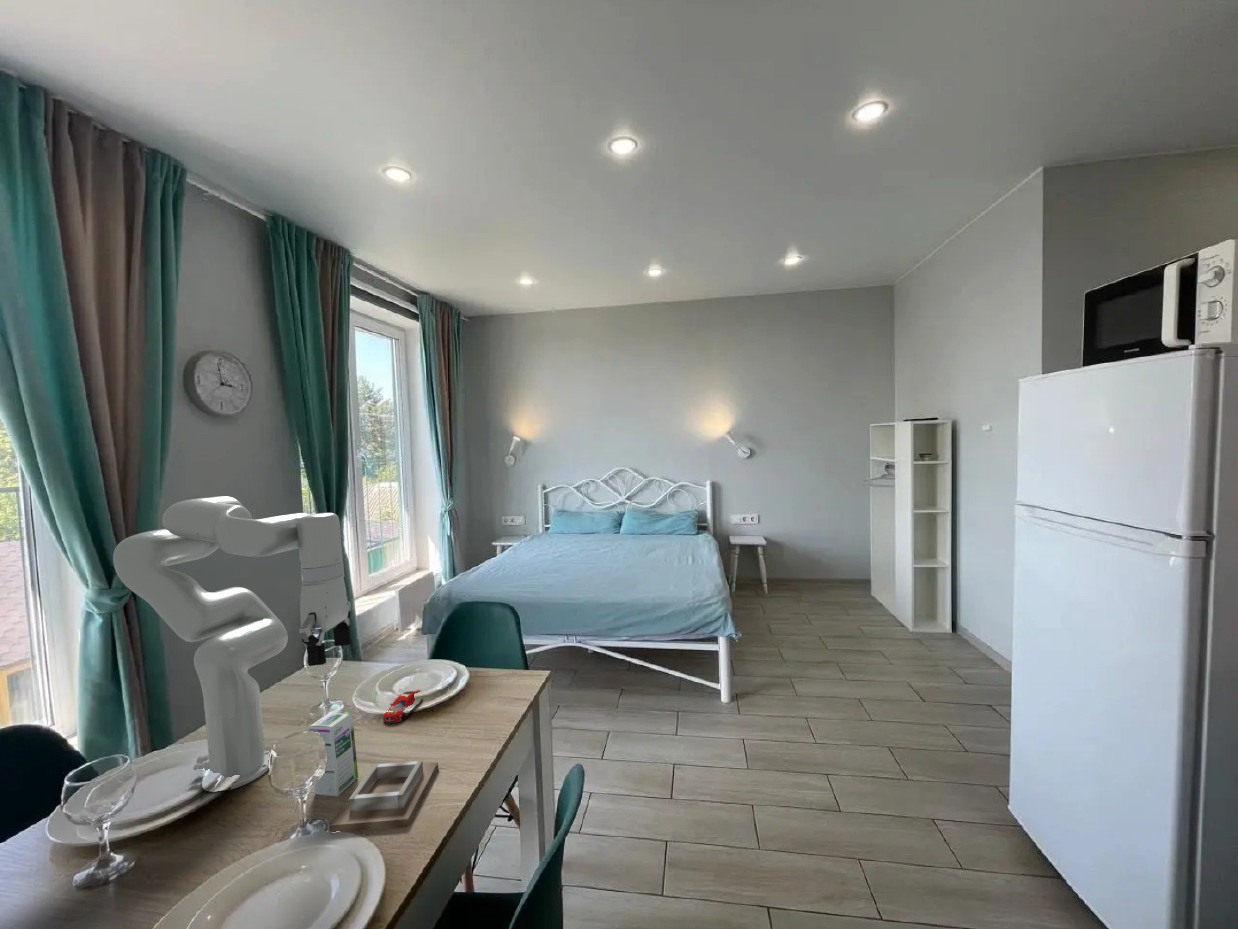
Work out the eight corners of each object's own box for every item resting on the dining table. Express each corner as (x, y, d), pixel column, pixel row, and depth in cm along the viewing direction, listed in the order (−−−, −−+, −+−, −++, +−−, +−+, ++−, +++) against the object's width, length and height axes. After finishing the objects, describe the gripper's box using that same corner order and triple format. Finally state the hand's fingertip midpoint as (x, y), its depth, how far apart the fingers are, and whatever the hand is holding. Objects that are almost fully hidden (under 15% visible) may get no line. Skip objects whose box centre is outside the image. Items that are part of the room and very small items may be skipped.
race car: (399, 726, 122) (397, 711, 122) (379, 726, 123) (378, 710, 123) (426, 699, 135) (425, 685, 135) (408, 698, 136) (407, 685, 136)
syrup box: (338, 797, 97) (332, 727, 96) (313, 795, 98) (307, 725, 98) (358, 778, 102) (353, 711, 102) (335, 776, 104) (329, 710, 103)
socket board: (330, 833, 87) (328, 812, 87) (372, 774, 103) (371, 756, 103) (408, 827, 88) (406, 805, 88) (438, 769, 104) (437, 751, 104)
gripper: (327, 565, 108) (334, 640, 109) (277, 586, 91) (285, 675, 91) (361, 562, 109) (368, 637, 109) (318, 582, 91) (326, 671, 92)
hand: (330, 654), depth 100 cm, fingers open, 9 cm apart
